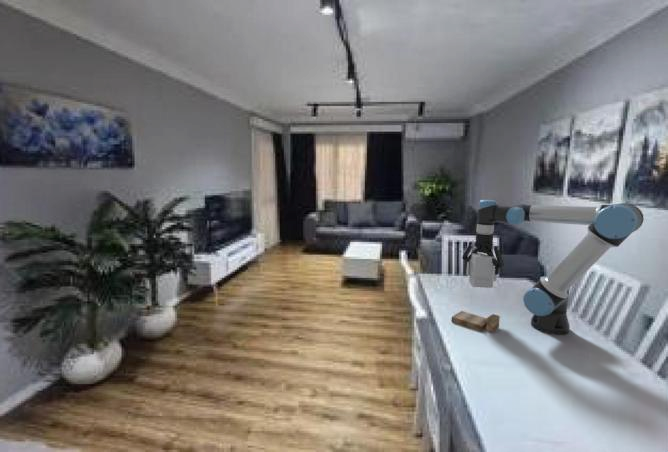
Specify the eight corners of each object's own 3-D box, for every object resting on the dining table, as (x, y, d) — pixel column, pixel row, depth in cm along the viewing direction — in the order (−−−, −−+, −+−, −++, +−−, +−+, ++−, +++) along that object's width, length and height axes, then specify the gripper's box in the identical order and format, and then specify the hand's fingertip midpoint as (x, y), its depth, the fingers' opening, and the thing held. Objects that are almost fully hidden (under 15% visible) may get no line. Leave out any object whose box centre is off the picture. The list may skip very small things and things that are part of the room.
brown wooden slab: (490, 325, 169) (490, 319, 168) (481, 332, 162) (481, 325, 161) (461, 316, 178) (461, 310, 178) (451, 322, 171) (451, 316, 171)
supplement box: (487, 282, 179) (490, 252, 177) (492, 288, 170) (495, 256, 168) (468, 281, 180) (470, 251, 178) (472, 287, 172) (475, 255, 169)
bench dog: (498, 328, 164) (499, 316, 163) (492, 332, 160) (493, 319, 159) (491, 326, 166) (493, 314, 166) (486, 330, 162) (487, 317, 161)
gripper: (514, 236, 165) (510, 282, 168) (465, 228, 183) (461, 270, 186) (507, 238, 160) (502, 285, 163) (456, 230, 178) (453, 273, 181)
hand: (480, 277), depth 175 cm, fingers closed on supplement box, 12 cm apart
